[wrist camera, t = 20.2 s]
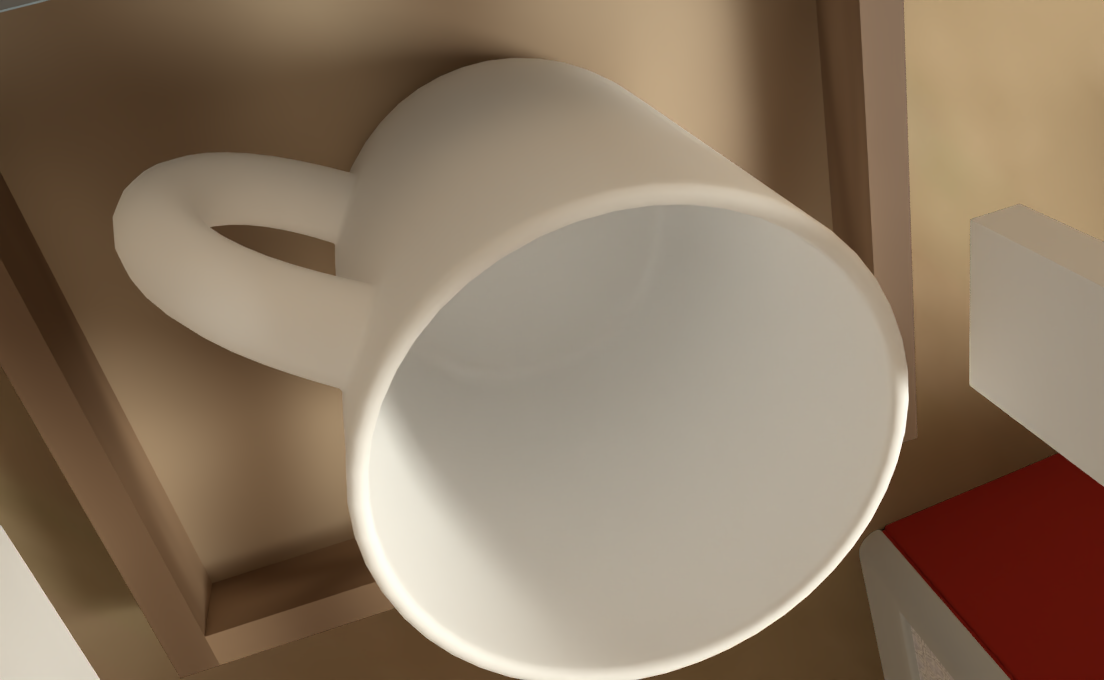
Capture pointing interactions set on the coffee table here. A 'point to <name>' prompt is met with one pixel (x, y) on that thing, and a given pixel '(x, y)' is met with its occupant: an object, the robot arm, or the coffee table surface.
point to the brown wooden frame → (334, 141)
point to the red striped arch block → (994, 581)
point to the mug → (555, 365)
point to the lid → (16, 4)
